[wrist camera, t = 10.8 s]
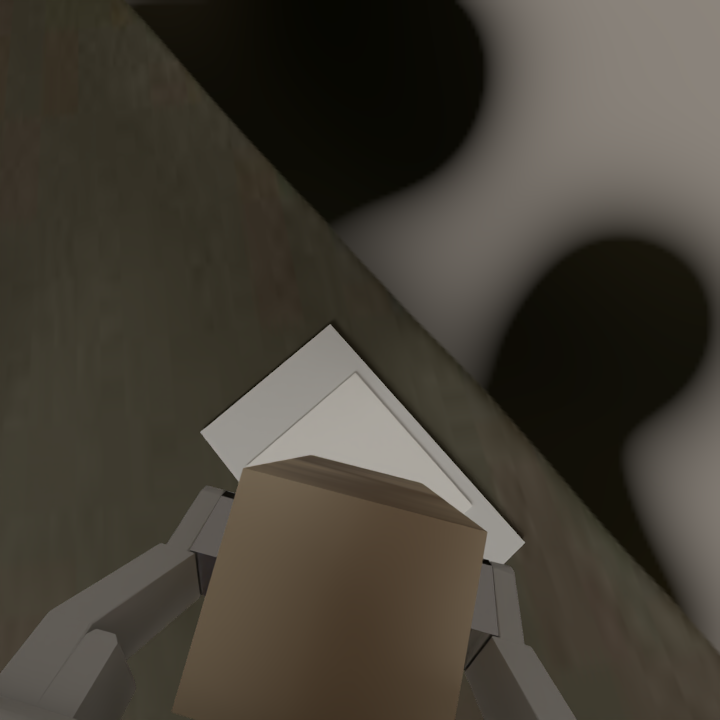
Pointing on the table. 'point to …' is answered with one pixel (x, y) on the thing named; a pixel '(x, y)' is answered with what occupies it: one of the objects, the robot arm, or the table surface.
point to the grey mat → (346, 431)
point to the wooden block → (334, 600)
